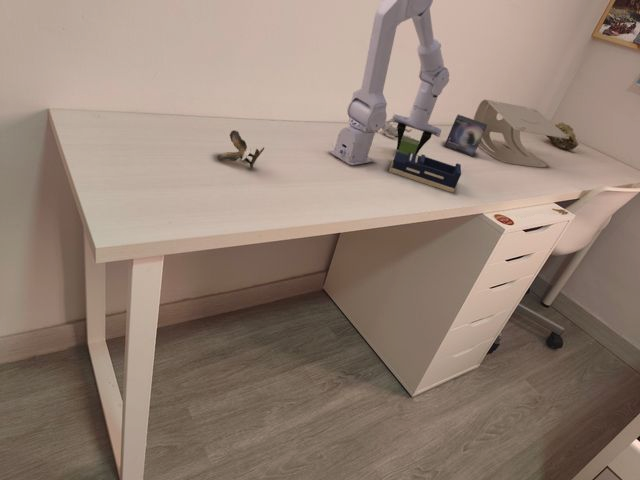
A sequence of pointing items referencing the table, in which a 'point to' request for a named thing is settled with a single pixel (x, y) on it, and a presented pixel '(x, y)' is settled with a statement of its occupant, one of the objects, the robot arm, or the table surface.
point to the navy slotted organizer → (426, 170)
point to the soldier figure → (391, 130)
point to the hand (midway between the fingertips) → (406, 151)
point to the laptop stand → (513, 131)
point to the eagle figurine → (240, 150)
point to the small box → (465, 135)
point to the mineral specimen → (563, 142)
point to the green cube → (408, 145)
